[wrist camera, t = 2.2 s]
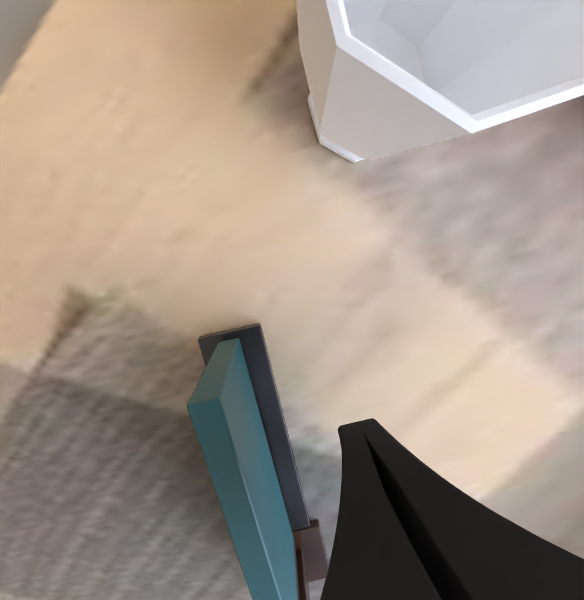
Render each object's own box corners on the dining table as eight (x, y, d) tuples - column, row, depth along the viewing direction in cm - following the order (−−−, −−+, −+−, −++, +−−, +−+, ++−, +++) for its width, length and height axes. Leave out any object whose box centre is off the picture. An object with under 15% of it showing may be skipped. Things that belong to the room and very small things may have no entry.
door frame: (330, 569, 18) (401, 981, 8) (267, 584, 18) (260, 1018, 8) (270, 320, 14) (265, 529, 4) (189, 338, 14) (-15, 594, 4)
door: (293, 535, 16) (302, 669, 11) (273, 540, 16) (274, 676, 11) (239, 337, 13) (219, 398, 8) (215, 342, 13) (181, 406, 8)
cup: (239, 92, 12) (168, -209, 4) (438, -103, 11) (928, -1096, 3) (346, 228, 13) (457, 220, 5) (529, 68, 12) (1012, -243, 4)
